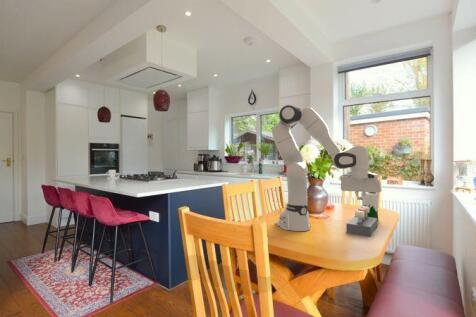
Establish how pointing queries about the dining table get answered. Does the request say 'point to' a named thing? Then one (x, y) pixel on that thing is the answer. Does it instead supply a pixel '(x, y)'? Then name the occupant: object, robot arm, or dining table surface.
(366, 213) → the terracotta knob
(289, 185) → the robot arm
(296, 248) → the dining table surface
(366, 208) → the white knob
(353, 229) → the console
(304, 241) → the dining table surface
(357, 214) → the white knob
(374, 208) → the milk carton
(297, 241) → the dining table surface
